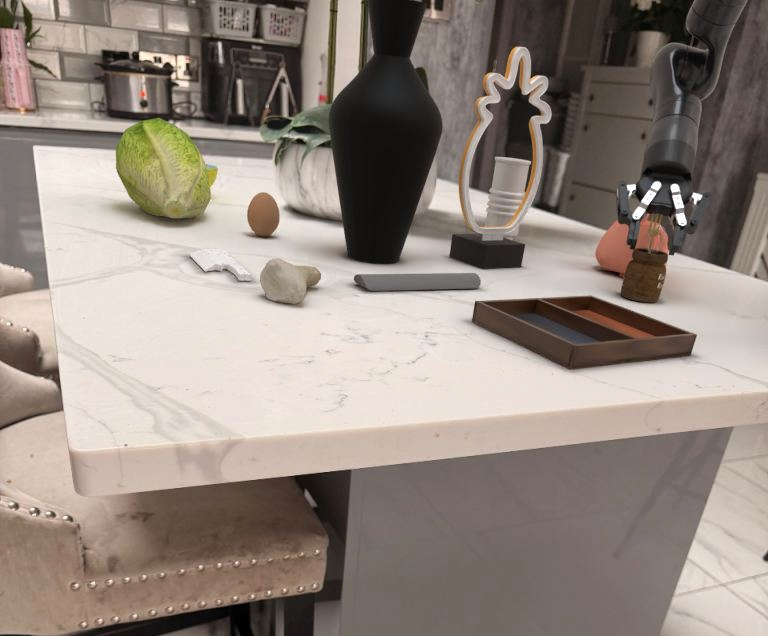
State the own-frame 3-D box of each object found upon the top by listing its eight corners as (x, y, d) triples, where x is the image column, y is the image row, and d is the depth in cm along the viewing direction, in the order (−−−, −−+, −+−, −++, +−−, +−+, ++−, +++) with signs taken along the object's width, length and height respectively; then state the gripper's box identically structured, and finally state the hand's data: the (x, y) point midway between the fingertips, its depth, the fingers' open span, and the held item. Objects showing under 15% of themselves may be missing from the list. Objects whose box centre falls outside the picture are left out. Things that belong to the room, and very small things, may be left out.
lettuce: (223, 250, 134) (129, 255, 130) (203, 184, 150) (118, 186, 145) (219, 166, 123) (116, 168, 119) (198, 104, 139) (106, 104, 134)
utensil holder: (621, 299, 116) (642, 216, 110) (617, 290, 121) (637, 210, 115) (660, 305, 115) (684, 221, 109) (655, 296, 120) (677, 216, 115)
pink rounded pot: (632, 265, 142) (646, 207, 137) (683, 284, 131) (702, 222, 126) (578, 264, 138) (591, 204, 133) (627, 284, 127) (644, 219, 122)
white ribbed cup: (516, 248, 146) (531, 163, 138) (480, 243, 146) (493, 158, 139) (517, 242, 151) (532, 160, 144) (482, 238, 152) (495, 155, 145)
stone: (303, 308, 93) (305, 267, 90) (253, 302, 93) (253, 261, 91) (321, 287, 103) (322, 250, 100) (275, 282, 103) (276, 245, 101)
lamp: (503, 254, 138) (538, 52, 123) (537, 266, 132) (579, 54, 117) (431, 257, 129) (459, 39, 114) (464, 269, 123) (498, 40, 108)
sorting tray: (586, 314, 105) (591, 295, 104) (690, 355, 92) (697, 334, 91) (471, 321, 96) (474, 300, 94) (570, 369, 83) (575, 345, 81)
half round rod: (350, 284, 106) (351, 271, 105) (466, 282, 115) (468, 270, 114) (364, 292, 103) (365, 278, 102) (482, 289, 112) (484, 276, 111)
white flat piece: (213, 281, 100) (213, 272, 99) (189, 255, 111) (188, 248, 111) (251, 280, 102) (251, 272, 101) (223, 255, 113) (223, 248, 113)
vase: (386, 245, 134) (410, 9, 117) (446, 268, 122) (482, 9, 105) (301, 247, 125) (313, -9, 108) (357, 272, 113) (381, -11, 96)
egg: (241, 235, 128) (241, 191, 125) (255, 231, 133) (256, 188, 130) (270, 240, 127) (271, 196, 124) (284, 236, 132) (285, 193, 128)
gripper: (627, 131, 115) (608, 225, 110) (726, 143, 112) (710, 240, 108) (617, 167, 122) (599, 257, 117) (710, 179, 120) (695, 271, 115)
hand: (653, 248), depth 113 cm, fingers open, 5 cm apart
